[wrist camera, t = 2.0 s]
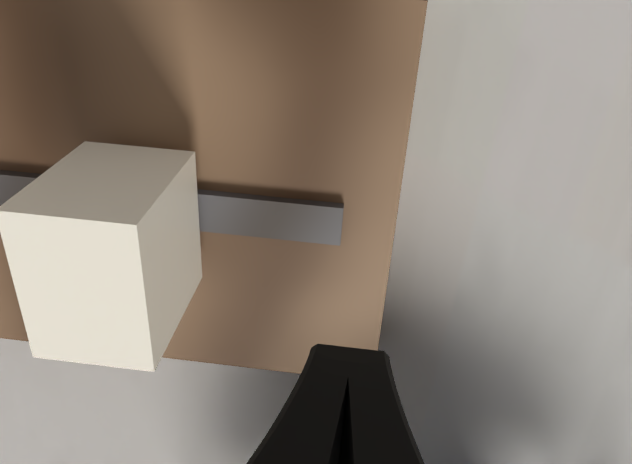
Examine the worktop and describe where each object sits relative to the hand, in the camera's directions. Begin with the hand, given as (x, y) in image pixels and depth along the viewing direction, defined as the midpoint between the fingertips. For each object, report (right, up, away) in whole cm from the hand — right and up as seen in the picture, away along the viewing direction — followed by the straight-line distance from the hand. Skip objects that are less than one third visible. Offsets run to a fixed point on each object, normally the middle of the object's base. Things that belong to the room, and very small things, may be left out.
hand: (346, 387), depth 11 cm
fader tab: (-5, +3, +5) cm, 8 cm away
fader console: (-9, +5, +8) cm, 13 cm away
